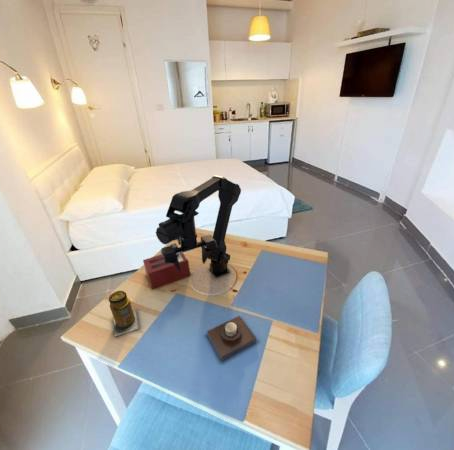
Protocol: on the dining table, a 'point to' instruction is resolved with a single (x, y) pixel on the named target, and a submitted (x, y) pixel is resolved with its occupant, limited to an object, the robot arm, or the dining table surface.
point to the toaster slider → (174, 246)
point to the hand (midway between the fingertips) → (191, 267)
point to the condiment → (122, 313)
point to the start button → (230, 329)
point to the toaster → (165, 270)
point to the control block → (231, 338)
